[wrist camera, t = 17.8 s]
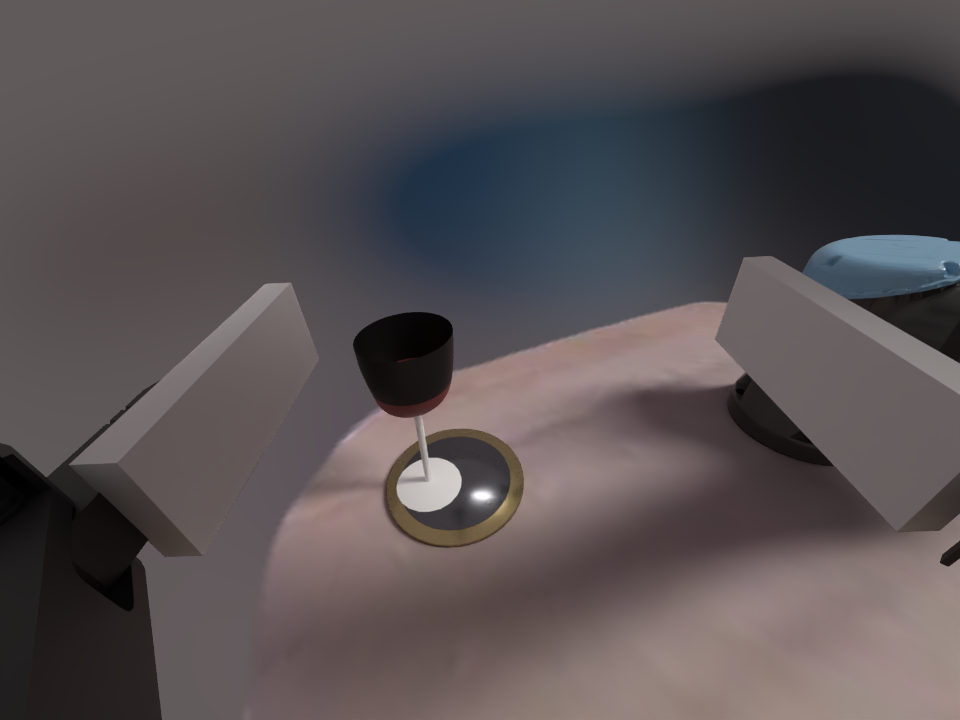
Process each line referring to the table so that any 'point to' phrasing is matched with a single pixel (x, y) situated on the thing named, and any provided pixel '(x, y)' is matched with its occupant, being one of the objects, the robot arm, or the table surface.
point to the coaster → (462, 489)
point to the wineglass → (412, 393)
